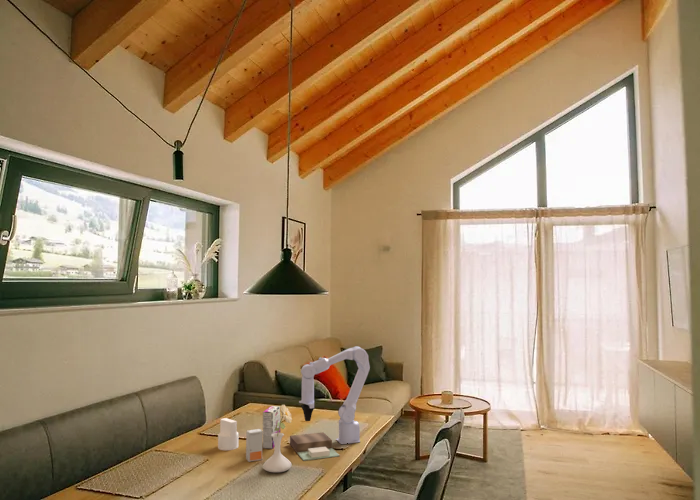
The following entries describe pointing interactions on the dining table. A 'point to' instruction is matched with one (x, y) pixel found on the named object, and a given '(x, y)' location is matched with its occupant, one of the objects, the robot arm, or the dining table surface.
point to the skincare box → (254, 444)
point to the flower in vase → (277, 459)
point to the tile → (318, 452)
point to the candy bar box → (270, 425)
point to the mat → (306, 456)
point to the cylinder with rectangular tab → (228, 434)
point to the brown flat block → (310, 441)
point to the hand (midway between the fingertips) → (307, 420)
